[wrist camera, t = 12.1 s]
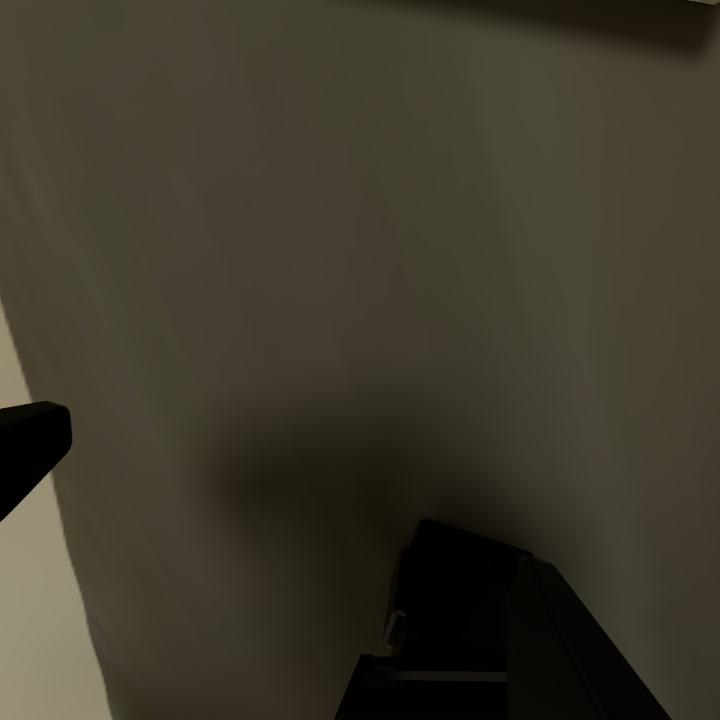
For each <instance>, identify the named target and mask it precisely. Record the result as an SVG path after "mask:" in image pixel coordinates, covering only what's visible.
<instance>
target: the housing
mask: <svg viewBox="0 0 720 720" xmlns="http://www.w3.org/2000/svg"><path fill="white" fill-rule="evenodd" d="M689 1H695V2H701V3H707V4H712V5H715V4H716V3H718V2H719V1H720V0H689Z"/></svg>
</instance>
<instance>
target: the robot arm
mask: <svg viewBox="0 0 720 720" xmlns="http://www.w3.org/2000/svg"><path fill="white" fill-rule="evenodd" d="M71 445H72V428H71V416H70V411H69V410H68V408H67V407H65V406H63V405H60V404H57V403H54V402H50V401H41V402H35V403H30V404H24V405H19V406H13V407H8V408H2V409H0V522H1V521H2V520H3V519H4V518H5V517H6V516H7V515H8V514H9V513H10V512H11V511H12V510H13V509H14V508H15V507H16V506H17V505H18V504H19V503H20V502H21V501H22V500H23V499H24V498H25V497H26V496H27V495H28V494H29V493H30V492H31V491H32V489H33V488H34V487H35V486H36V485H37V484H38V483H39V482H40V481H41V480H42V479H43V478H44V477H45V476H46V475H47V474H48V473H49V472H50V471H51V470H52V469H53V467H54V466H55V465H56V464H57V463H58V462H59V461H60V460H61V459H62V458H63V457H64V456H65V455H66V454H67V453H68V451H69V449H70V448H71ZM425 528H428V529H430V530H425ZM523 561H524V562H523ZM382 641H383V643H384V645H385V646H386V647H389V648H392V655H391V657H373V655H372V654H361V655H360V658H359V660H358V663H357V665H356V667H355V670H354V672H353V675H352V677H351V679H350V682H349V684H348V687H347V689H346V692H345V694H344V697H343V699H342V701H341V704H340V706H339V709H338V711H337V713H336V716H335V718H334V720H672V719H671V718H670V717H669V715H668V714H667V713H666V711H665V710H664V709H663V708H662V706H661V705H660V704H659V702H658V701H657V700H656V698H655V697H654V696H653V694H652V693H651V692H650V690H649V689H648V688H647V687H646V685H645V684H644V683H643V681H642V680H641V679H640V677H639V676H638V675H637V673H636V672H635V671H634V669H633V668H632V667H631V665H630V664H629V663H628V662H627V660H626V659H625V658H624V656H623V655H622V654H621V652H620V651H619V650H618V648H617V647H616V646H615V644H614V643H613V642H612V641H611V639H610V638H609V637H608V635H607V634H606V633H605V631H604V630H603V629H602V627H601V626H600V625H599V623H598V622H597V621H596V620H595V618H594V617H593V616H592V614H591V613H590V612H589V610H588V609H587V608H586V606H585V605H584V604H583V602H582V601H581V600H580V599H579V597H578V596H577V595H576V593H575V592H574V591H573V589H572V588H571V587H570V585H569V584H568V583H567V581H566V580H565V579H564V577H563V576H562V575H561V574H560V572H559V571H558V570H557V568H556V567H555V566H554V565H553V564H551V563H549V562H547V561H544V560H541V559H537V558H534V556H533V555H532V554H531V553H529V552H527V551H524V550H521V549H518V548H514V547H511V546H508V545H505V544H502V543H499V542H496V541H493V540H490V539H487V538H483V537H480V536H477V535H474V534H471V533H468V532H465V531H462V530H459V529H455V528H452V527H449V526H446V525H443V524H440V523H437V522H434V521H431V520H422V521H420V522H419V524H418V526H417V529H416V532H415V535H414V537H413V540H412V543H411V546H410V548H407V547H406V548H404V549H402V551H401V554H400V557H399V559H398V562H397V565H396V568H395V571H394V574H393V576H392V581H391V587H390V593H389V600H388V606H387V612H386V619H385V625H384V631H383V638H382Z"/></svg>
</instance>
